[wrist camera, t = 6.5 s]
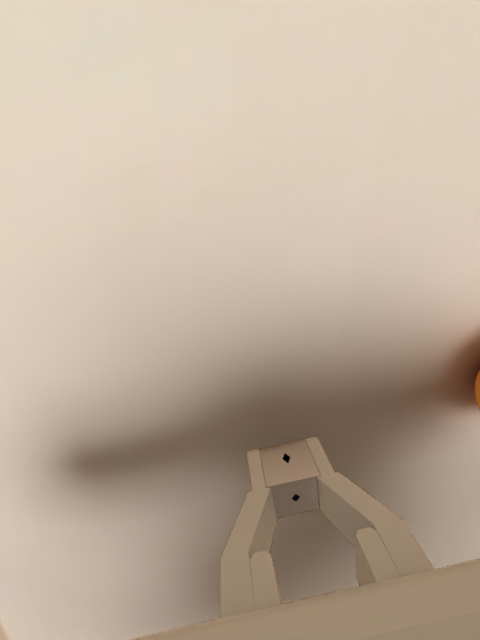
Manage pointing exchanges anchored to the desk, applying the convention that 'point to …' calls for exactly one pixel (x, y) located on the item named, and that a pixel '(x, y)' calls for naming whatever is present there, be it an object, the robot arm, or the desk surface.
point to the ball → (477, 389)
